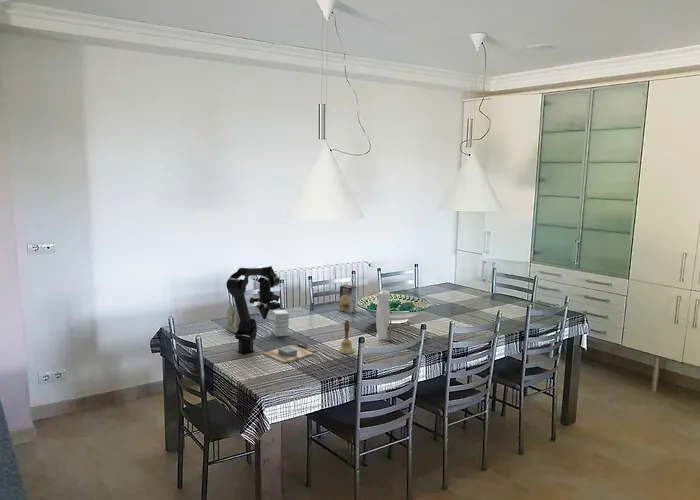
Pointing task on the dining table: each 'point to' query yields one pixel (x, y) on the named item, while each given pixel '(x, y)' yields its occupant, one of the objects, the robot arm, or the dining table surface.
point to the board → (284, 359)
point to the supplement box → (280, 322)
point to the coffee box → (347, 298)
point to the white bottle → (383, 316)
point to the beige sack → (232, 319)
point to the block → (287, 351)
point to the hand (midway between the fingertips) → (264, 319)
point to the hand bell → (346, 341)
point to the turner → (308, 348)
